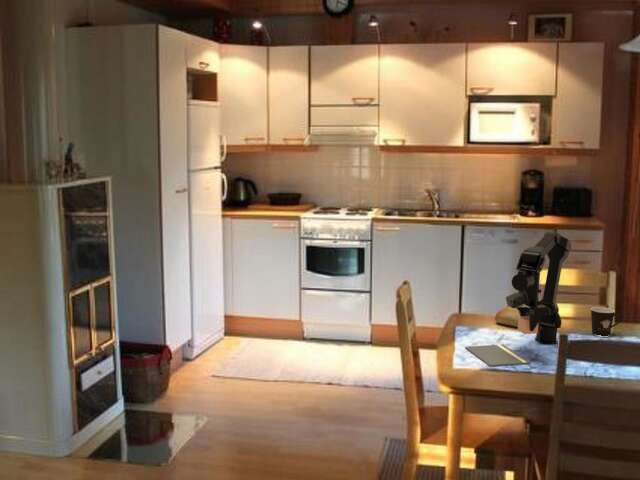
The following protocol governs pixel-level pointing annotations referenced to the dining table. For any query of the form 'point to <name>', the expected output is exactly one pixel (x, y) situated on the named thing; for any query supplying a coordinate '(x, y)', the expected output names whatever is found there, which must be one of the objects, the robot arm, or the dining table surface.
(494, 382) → the dining table surface
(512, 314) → the bread roll
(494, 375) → the dining table surface
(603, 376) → the dining table surface
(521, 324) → the terracotta block
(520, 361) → the mat
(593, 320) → the coffee mug
